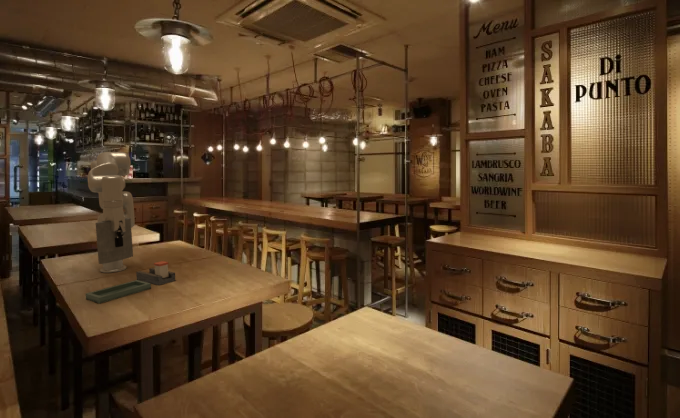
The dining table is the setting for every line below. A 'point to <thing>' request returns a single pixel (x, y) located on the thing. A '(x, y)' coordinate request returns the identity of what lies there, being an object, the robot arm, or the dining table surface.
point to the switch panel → (155, 277)
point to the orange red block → (161, 269)
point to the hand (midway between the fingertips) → (116, 245)
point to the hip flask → (113, 242)
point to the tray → (117, 291)
